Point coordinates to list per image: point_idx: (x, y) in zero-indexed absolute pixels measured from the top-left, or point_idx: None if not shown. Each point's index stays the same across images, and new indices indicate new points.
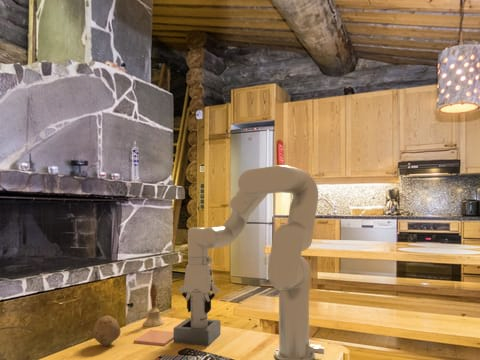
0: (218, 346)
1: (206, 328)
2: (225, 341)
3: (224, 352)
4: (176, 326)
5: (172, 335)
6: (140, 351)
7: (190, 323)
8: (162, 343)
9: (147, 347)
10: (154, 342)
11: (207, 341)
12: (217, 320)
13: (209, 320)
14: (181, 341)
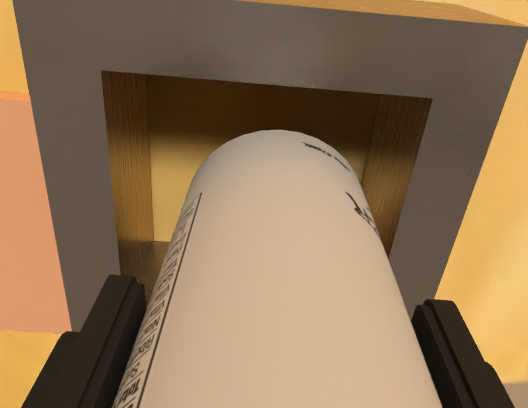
0: (449, 283)
1: None
2: (503, 189)
3: (489, 354)
4: (76, 319)
5: (35, 192)
6: (10, 401)
7: (115, 79)
8: (66, 330)
9: (3, 356)
10: (4, 328)
11: None
12: (486, 40)
13: (369, 62)
14: None
